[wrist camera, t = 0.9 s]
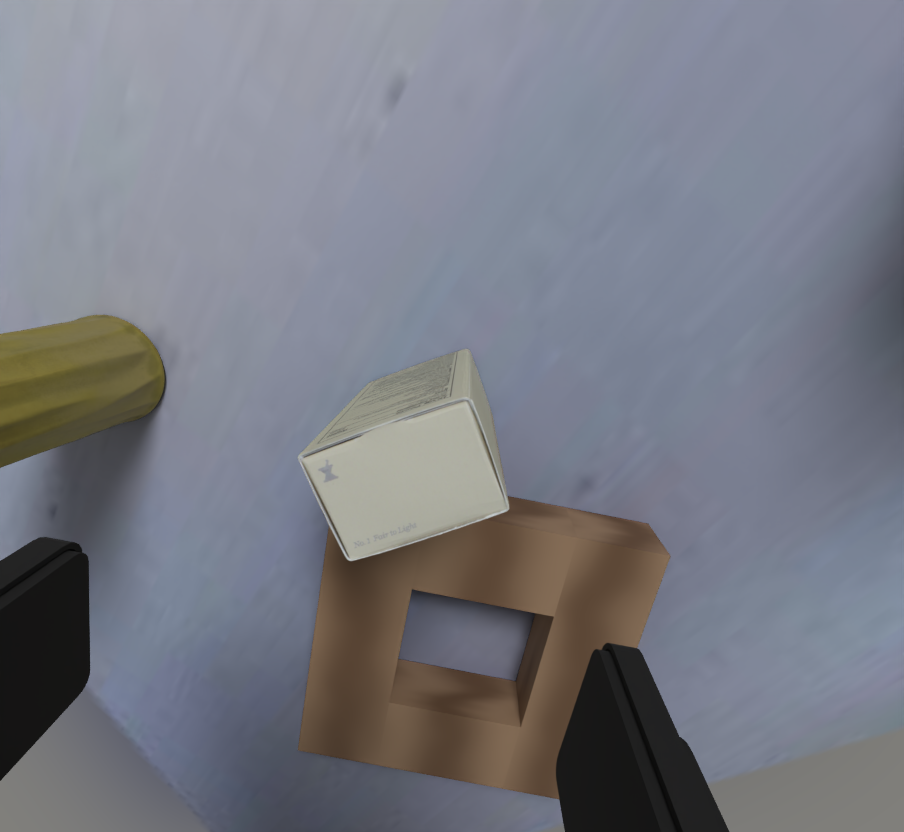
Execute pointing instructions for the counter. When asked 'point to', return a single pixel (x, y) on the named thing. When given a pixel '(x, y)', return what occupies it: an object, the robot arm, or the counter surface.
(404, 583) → the docking block
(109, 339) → the vase
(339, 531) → the skincare box
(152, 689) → the counter surface
